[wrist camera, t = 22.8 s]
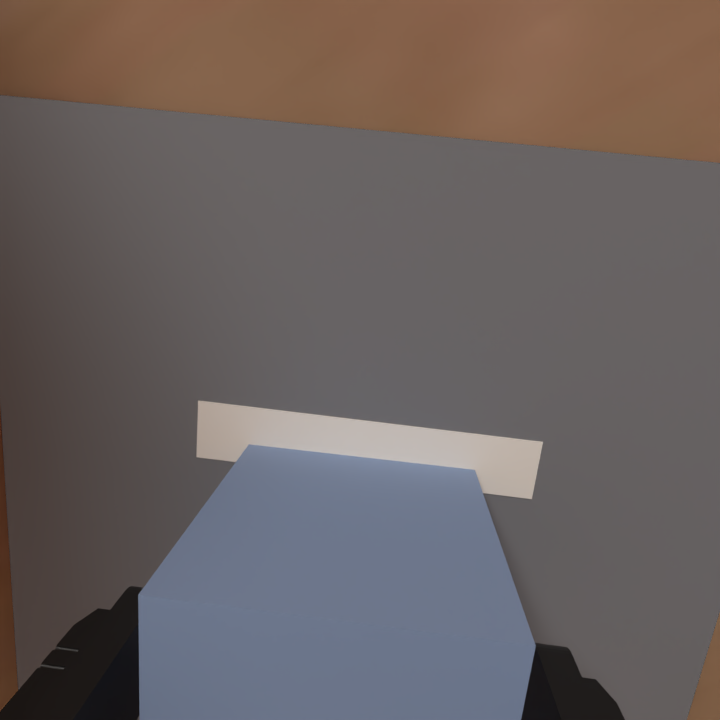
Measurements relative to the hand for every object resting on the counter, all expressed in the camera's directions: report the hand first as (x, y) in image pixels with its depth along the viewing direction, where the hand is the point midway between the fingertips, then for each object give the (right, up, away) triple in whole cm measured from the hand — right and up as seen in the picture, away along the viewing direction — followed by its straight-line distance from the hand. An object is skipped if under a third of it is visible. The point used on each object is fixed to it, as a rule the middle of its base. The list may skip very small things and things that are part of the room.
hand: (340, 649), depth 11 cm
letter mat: (0, +1, +3) cm, 4 cm away
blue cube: (0, +1, +3) cm, 3 cm away
